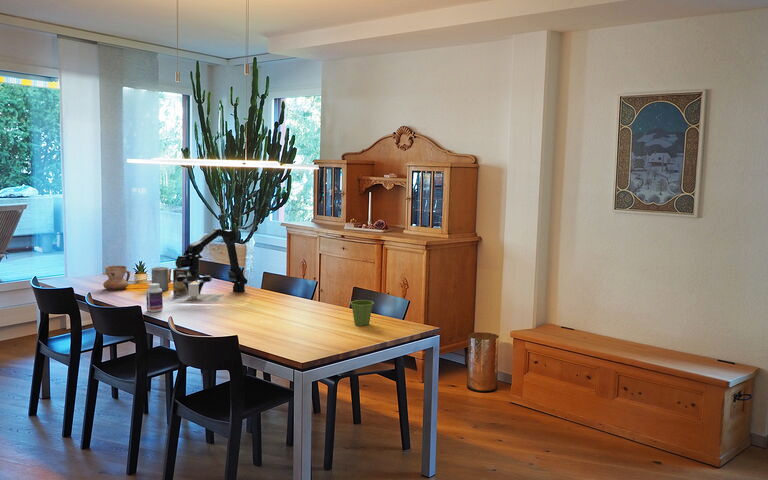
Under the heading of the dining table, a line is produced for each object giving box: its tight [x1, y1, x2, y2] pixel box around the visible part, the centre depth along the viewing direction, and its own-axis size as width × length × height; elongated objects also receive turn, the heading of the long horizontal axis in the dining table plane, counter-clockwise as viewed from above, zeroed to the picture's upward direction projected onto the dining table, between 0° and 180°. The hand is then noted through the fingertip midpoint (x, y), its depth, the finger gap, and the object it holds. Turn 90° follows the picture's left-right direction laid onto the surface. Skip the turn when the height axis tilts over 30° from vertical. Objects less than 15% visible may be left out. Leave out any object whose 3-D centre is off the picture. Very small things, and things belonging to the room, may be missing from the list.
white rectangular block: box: [187, 282, 201, 297], centre depth 379 cm, size 5×5×7 cm
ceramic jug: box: [102, 264, 131, 291], centre depth 410 cm, size 18×14×14 cm
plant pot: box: [349, 299, 375, 327], centre depth 330 cm, size 12×12×11 cm
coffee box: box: [172, 267, 192, 297], centre depth 394 cm, size 9×6×16 cm
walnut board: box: [184, 293, 224, 302], centre depth 384 cm, size 18×20×1 cm
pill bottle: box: [145, 283, 164, 313], centre depth 352 cm, size 8×8×14 cm
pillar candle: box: [151, 266, 170, 292], centre depth 409 cm, size 10×10×15 cm
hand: (194, 293), depth 379 cm, fingers closed on white rectangular block, 5 cm apart
